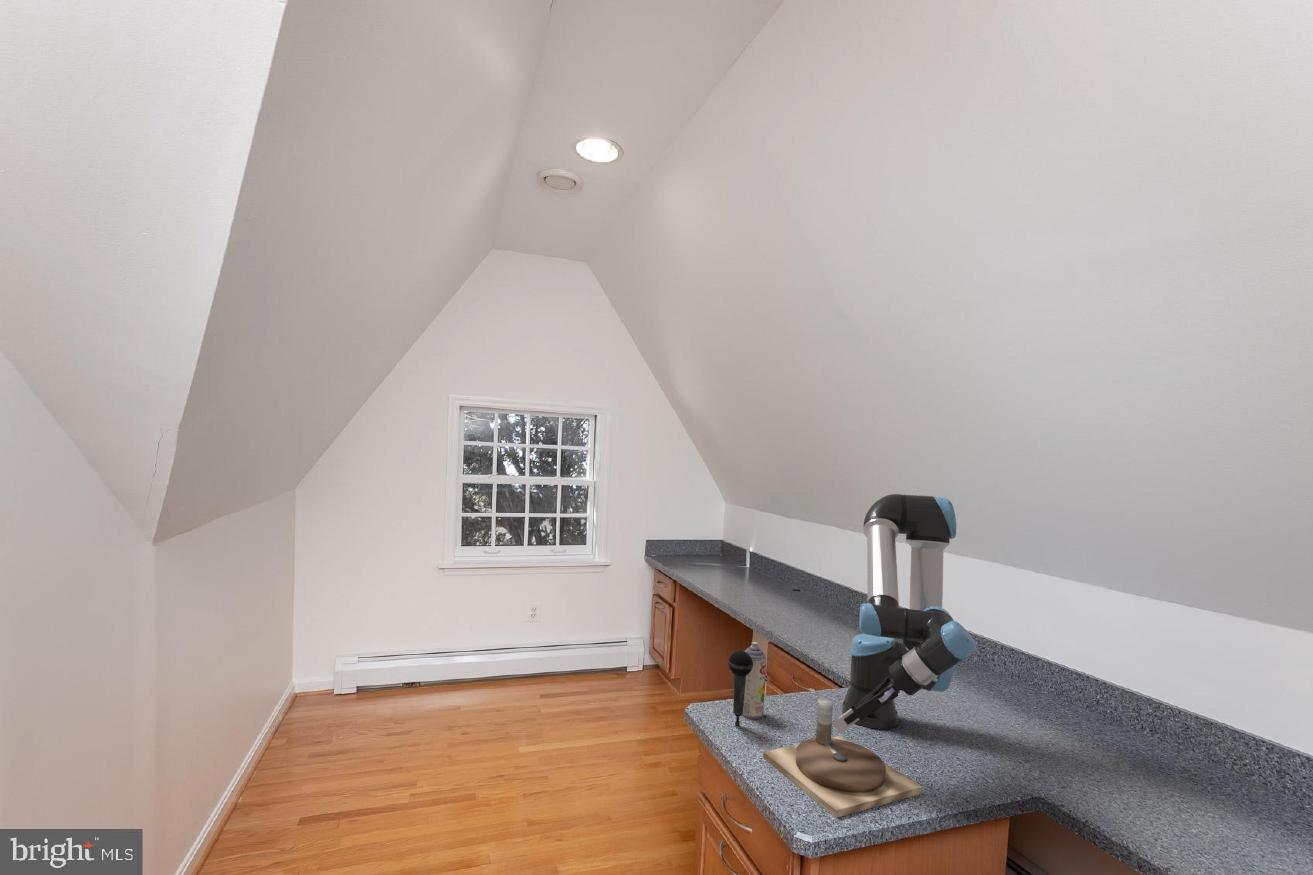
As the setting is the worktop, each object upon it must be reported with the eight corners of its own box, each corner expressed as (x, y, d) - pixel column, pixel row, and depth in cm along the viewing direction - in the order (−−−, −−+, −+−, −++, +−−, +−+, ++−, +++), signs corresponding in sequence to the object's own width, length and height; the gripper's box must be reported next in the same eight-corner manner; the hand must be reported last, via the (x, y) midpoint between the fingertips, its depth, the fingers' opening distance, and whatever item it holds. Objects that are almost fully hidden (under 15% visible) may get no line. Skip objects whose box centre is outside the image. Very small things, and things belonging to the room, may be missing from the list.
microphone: (730, 732, 156) (734, 656, 157) (720, 720, 163) (724, 647, 163) (754, 730, 158) (758, 655, 158) (743, 719, 165) (747, 646, 165)
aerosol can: (761, 720, 164) (765, 648, 165) (737, 716, 166) (741, 644, 166) (764, 710, 171) (768, 641, 171) (740, 706, 173) (744, 637, 173)
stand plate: (841, 741, 155) (841, 733, 155) (921, 793, 132) (922, 784, 132) (763, 757, 144) (763, 749, 144) (835, 817, 121) (836, 808, 121)
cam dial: (904, 788, 130) (906, 733, 131) (820, 794, 126) (823, 738, 127) (855, 743, 150) (857, 696, 150) (781, 747, 146) (784, 698, 146)
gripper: (922, 695, 131) (842, 752, 138) (927, 678, 142) (853, 731, 149) (896, 665, 133) (819, 723, 141) (903, 651, 145) (832, 704, 152)
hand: (837, 727), depth 145 cm, fingers closed
